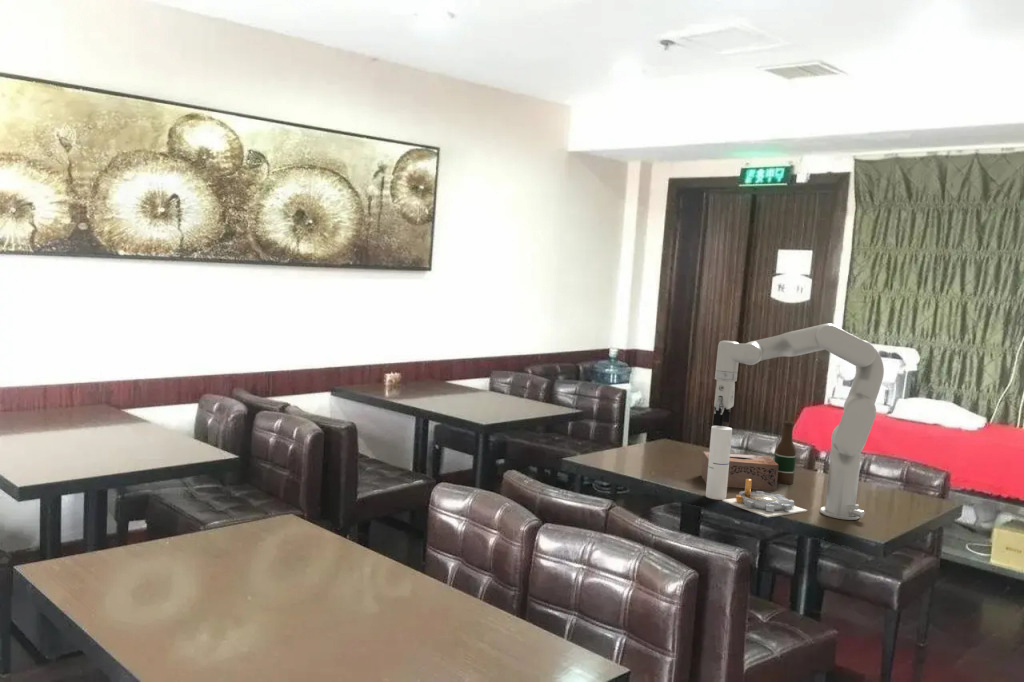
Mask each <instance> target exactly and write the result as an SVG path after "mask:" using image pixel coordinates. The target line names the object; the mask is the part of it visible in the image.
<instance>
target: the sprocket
mask: <svg viewBox="0 0 1024 682" xmlns="http://www.w3.org/2000/svg"><path fill="white" fill-rule="evenodd" d="M751 483H752V480H751V479H746V483H745V488H744V490H741V491H739V493H738V494H735V498H736V501H737V502H742V503H743V504H745V506H746V507H749V508H753V507H754V508H758V509H763V510H766V511H773V512H774V511H779V510H784V511H790V510H791V507H794V506H795V500H793V499H788V498H787V497H785V495H783V494H779V493H777V494H775V493H770V492H765V491H761V490H756V491H751V490H752V489H751Z"/></svg>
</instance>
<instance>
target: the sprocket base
mask: <svg viewBox="0 0 1024 682" xmlns="http://www.w3.org/2000/svg"><path fill="white" fill-rule="evenodd" d="M722 502H724V503H727V504H729V505H732V506H735V507H737V508H739V509H743V510H745V511H748V512H751V513H753V514H756V515H759V516H762V517H765V518H772V517H774V518H775V517H779V516H785V515H794V514H799V513H805V512H808V509H805V508H802V507H799V506H796V505H794V507H791V510H790V511H784V510H779V511H774V512H773V511H766V510H763V509H758V508H754V507H753V508H749V507H746V506H745V504H743V503H742V502H737V501H736V497H733V498H726V499H723V500H722Z"/></svg>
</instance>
